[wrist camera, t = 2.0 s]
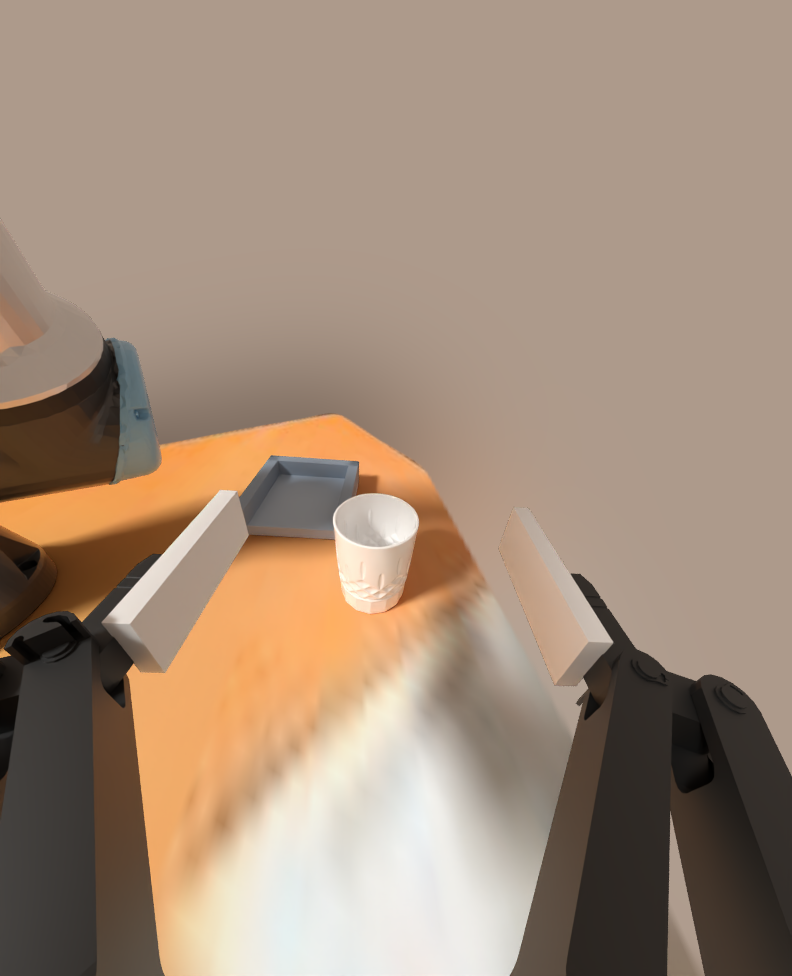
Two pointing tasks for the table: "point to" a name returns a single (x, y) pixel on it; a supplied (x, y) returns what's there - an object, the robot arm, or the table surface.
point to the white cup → (374, 549)
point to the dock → (298, 496)
